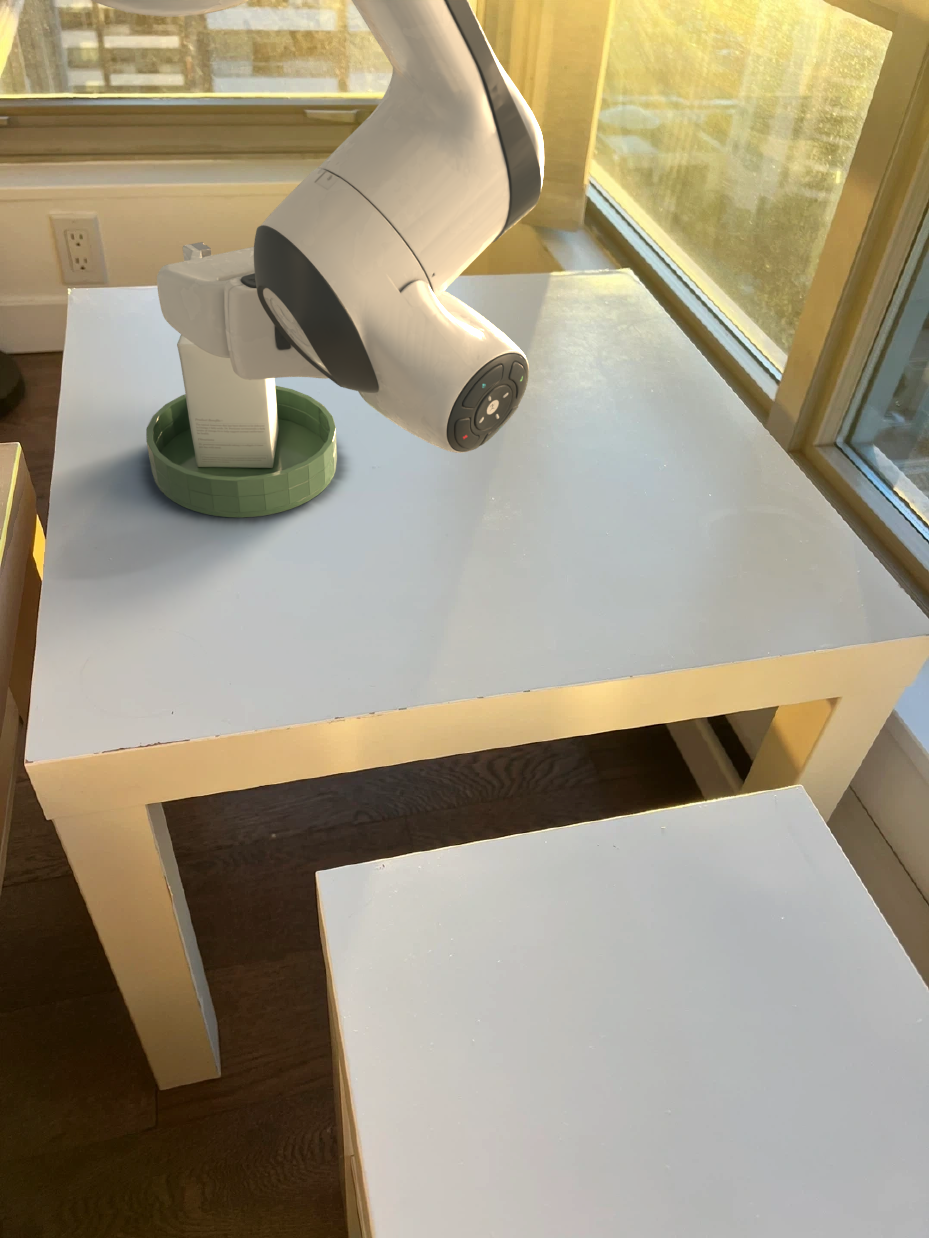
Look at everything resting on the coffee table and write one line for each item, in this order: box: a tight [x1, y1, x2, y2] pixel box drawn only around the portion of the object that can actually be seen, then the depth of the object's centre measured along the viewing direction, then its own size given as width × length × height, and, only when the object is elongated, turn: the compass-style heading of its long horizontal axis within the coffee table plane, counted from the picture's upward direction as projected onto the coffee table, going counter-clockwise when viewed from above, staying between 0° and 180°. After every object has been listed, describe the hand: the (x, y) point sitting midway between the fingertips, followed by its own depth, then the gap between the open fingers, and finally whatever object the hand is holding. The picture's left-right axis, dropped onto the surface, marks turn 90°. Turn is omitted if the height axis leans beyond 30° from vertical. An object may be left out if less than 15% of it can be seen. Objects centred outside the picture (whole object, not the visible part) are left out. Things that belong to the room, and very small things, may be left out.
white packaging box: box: [176, 334, 279, 468], centre depth 89 cm, size 7×7×13 cm
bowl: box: [145, 385, 338, 518], centre depth 91 cm, size 17×17×4 cm
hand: (247, 242), depth 75 cm, fingers open, 8 cm apart
